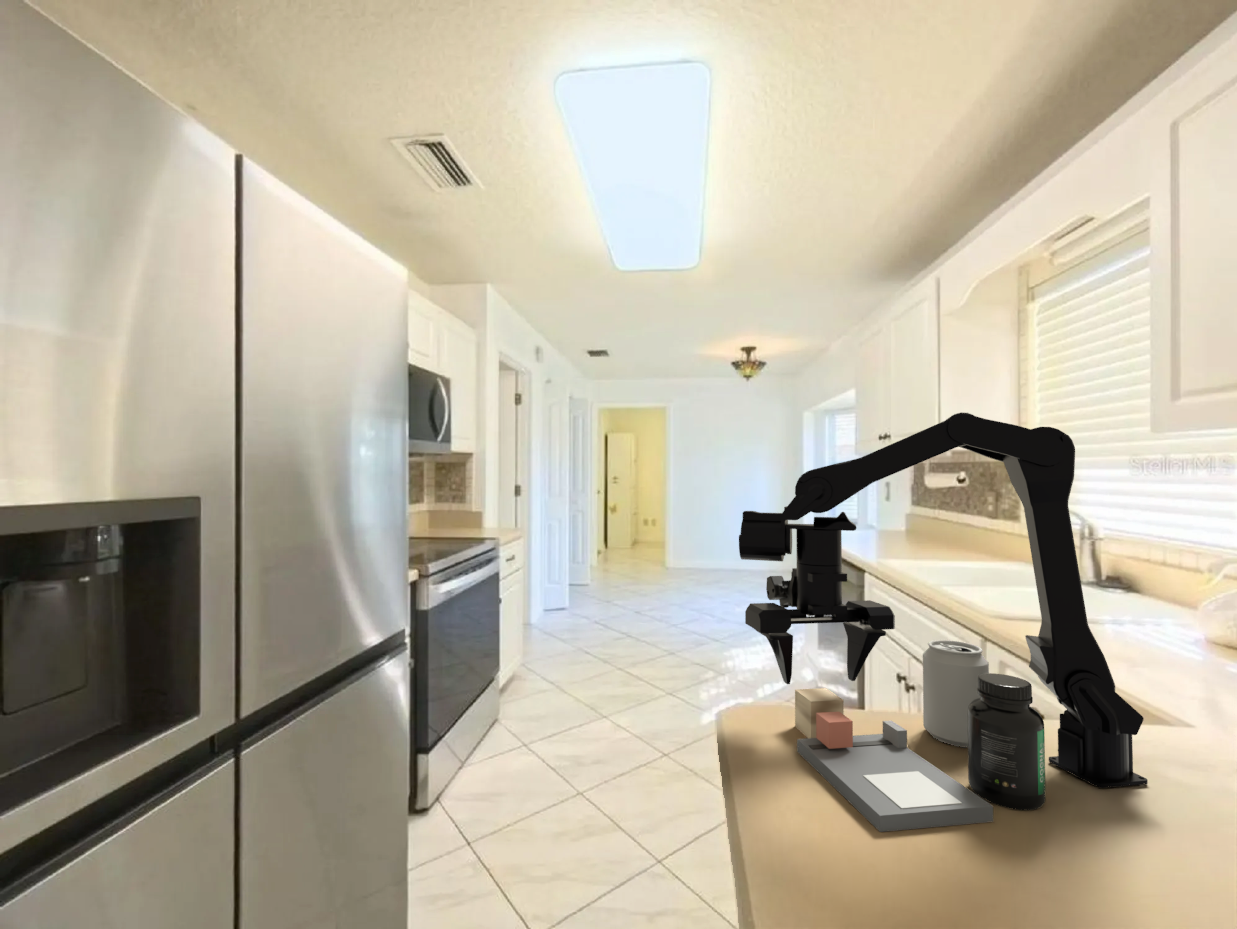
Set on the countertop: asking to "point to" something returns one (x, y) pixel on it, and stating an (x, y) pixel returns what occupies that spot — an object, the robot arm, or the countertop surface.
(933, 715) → the can
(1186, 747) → the countertop surface
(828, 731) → the salmon red cube
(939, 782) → the base
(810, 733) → the block
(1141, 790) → the countertop surface
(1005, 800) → the supplement bottle
